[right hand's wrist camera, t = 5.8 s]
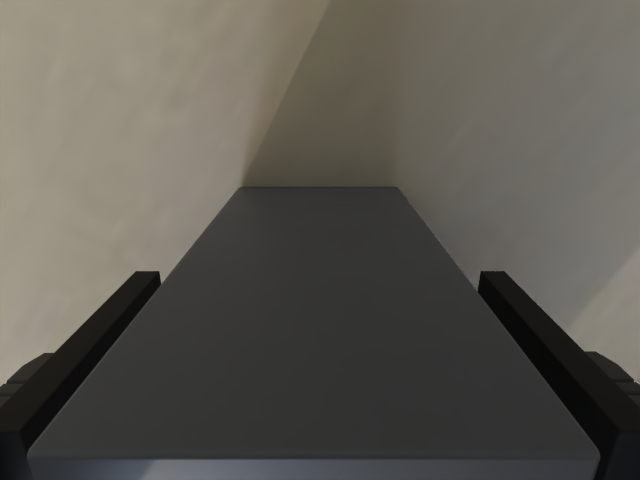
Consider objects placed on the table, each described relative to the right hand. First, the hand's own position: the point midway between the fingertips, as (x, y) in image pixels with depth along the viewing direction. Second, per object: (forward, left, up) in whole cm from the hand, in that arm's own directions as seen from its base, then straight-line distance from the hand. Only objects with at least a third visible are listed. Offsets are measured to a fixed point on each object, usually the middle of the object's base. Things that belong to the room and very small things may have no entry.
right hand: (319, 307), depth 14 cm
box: (+5, +5, -4) cm, 8 cm away
